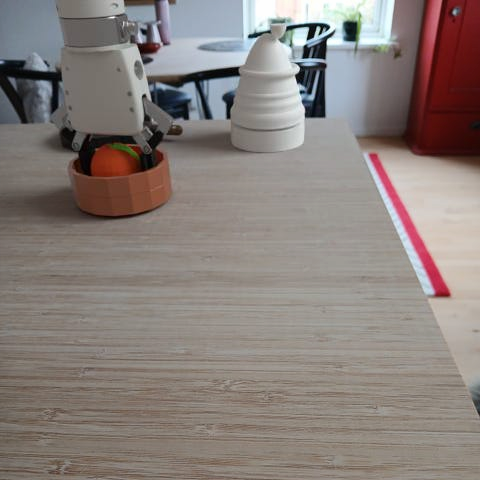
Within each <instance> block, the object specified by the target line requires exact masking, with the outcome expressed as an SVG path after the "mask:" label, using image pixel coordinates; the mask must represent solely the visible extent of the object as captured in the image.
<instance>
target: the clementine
mask: <svg viewBox="0 0 480 480" xmlns="http://www.w3.org/2000/svg"><path fill="white" fill-rule="evenodd" d="M140 172H142V171H141V164H140V158H139V157H138V155H137V153H135V152H134V151H133V150H132V149H131V148H130V147H128V146H126V145H124V144H122V143H112V142H111V143H109V144H105V145H103V146H102V147H100V148H99V149H98V150H97V151H96V152H95V154H94V156H93V158H92V162H91V174H92V177H117V176H127V175H132V174H136V173H140Z"/></svg>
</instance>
